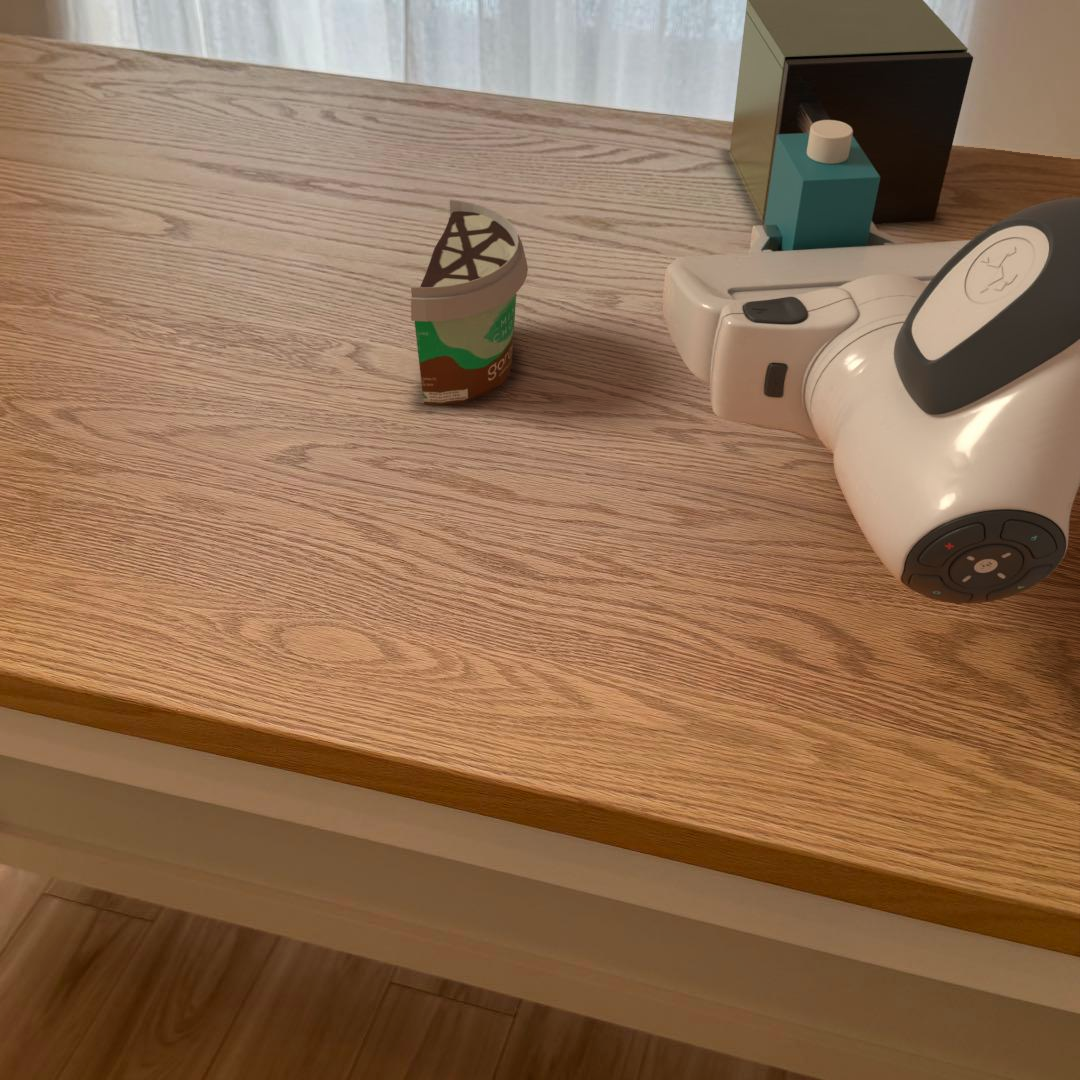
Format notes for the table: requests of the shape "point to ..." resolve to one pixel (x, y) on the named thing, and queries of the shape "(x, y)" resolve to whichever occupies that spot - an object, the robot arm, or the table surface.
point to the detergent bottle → (821, 189)
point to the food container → (468, 306)
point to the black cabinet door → (885, 119)
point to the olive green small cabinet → (812, 33)
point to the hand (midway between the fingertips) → (808, 232)
